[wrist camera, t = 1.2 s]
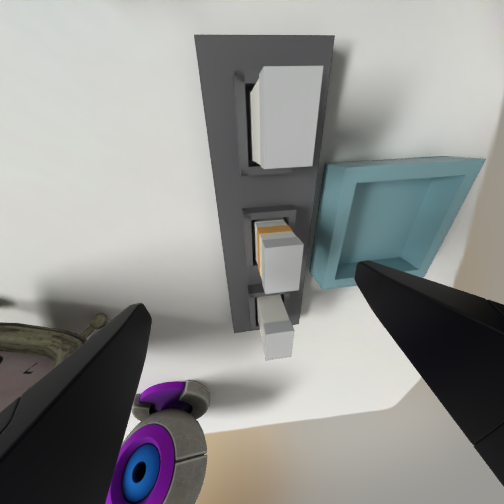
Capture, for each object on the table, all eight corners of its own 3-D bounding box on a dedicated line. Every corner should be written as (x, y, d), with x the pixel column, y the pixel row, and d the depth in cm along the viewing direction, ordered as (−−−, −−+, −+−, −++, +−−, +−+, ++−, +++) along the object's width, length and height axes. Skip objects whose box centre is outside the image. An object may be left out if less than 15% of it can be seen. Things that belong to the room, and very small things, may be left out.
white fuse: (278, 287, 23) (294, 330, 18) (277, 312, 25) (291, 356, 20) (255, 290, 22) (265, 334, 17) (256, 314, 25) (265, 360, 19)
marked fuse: (280, 215, 18) (303, 244, 13) (279, 252, 20) (298, 290, 15) (252, 217, 18) (264, 248, 13) (254, 254, 20) (265, 294, 15)
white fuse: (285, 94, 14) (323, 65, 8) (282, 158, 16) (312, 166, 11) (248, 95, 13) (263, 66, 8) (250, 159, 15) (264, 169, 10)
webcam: (194, 371, 32) (174, 530, 19) (219, 403, 38) (218, 537, 25) (119, 392, 32) (49, 563, 19) (157, 421, 38) (124, 562, 25)
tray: (444, 156, 19) (485, 158, 16) (400, 260, 25) (424, 277, 22) (324, 163, 18) (345, 167, 15) (309, 271, 24) (322, 289, 21)
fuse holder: (324, 45, 14) (347, 23, 11) (295, 315, 28) (302, 333, 25) (197, 45, 13) (190, 21, 10) (233, 323, 27) (234, 343, 24)
